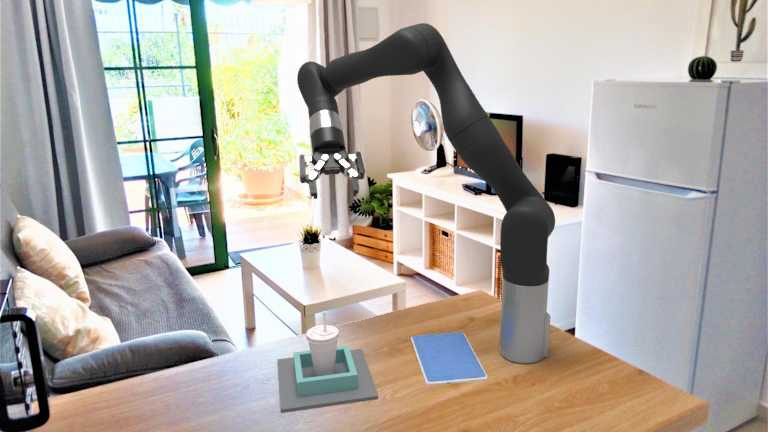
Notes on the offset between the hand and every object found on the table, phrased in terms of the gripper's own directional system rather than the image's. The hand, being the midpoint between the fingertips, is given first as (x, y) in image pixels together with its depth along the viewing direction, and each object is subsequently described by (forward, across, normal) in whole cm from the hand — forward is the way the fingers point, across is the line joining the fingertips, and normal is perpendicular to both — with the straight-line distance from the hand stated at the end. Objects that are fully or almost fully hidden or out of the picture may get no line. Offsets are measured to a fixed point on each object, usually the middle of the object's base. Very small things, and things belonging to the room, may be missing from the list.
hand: (335, 195), depth 124 cm
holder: (+36, -6, +10) cm, 38 cm away
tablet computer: (+36, +20, +12) cm, 42 cm away
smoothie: (+36, -6, +10) cm, 38 cm away
